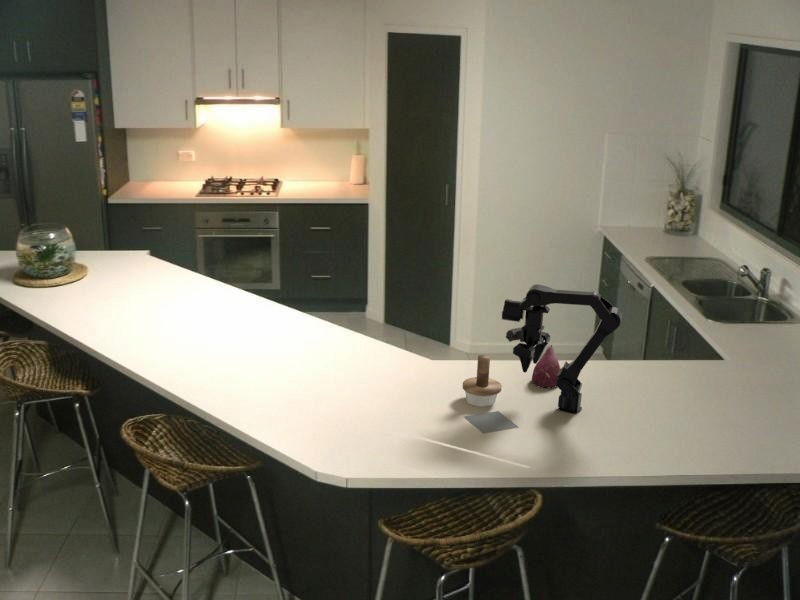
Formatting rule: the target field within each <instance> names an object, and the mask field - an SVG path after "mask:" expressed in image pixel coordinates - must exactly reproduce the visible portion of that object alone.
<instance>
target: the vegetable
mask: <svg viewBox="0 0 800 600" xmlns="http://www.w3.org/2000/svg"><path fill="white" fill-rule="evenodd" d="M544 351H545V352H543V354H542V355H541V356H542V357H540V358H539V360H538V362H537V363H536V364H535V366H534V367H533V371H532V375H531V382H532V385H534V384H535V385H534V386H536V385H537V386H536V387H538V386H539V387H538V388H541V387H555V386H557V383H556V382H557V379H558V377H557V375H558V372H559V369H561V366H560V363H559V360H558V357H557V355H556V352H555V347H554V346H553V344H550V345H549V346H548V347H546V350H544ZM555 388H556V387H555Z"/></svg>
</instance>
